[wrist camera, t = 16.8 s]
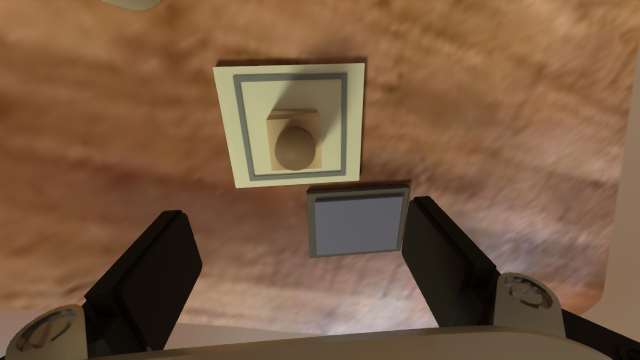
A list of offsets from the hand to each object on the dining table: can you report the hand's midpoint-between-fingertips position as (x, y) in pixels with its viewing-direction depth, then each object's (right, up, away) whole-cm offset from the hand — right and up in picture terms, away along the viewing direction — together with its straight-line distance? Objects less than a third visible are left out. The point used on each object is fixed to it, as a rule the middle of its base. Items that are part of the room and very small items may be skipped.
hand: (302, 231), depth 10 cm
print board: (-2, +8, +19) cm, 21 cm away
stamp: (-2, +8, +18) cm, 20 cm away
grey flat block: (+6, -4, +25) cm, 26 cm away
